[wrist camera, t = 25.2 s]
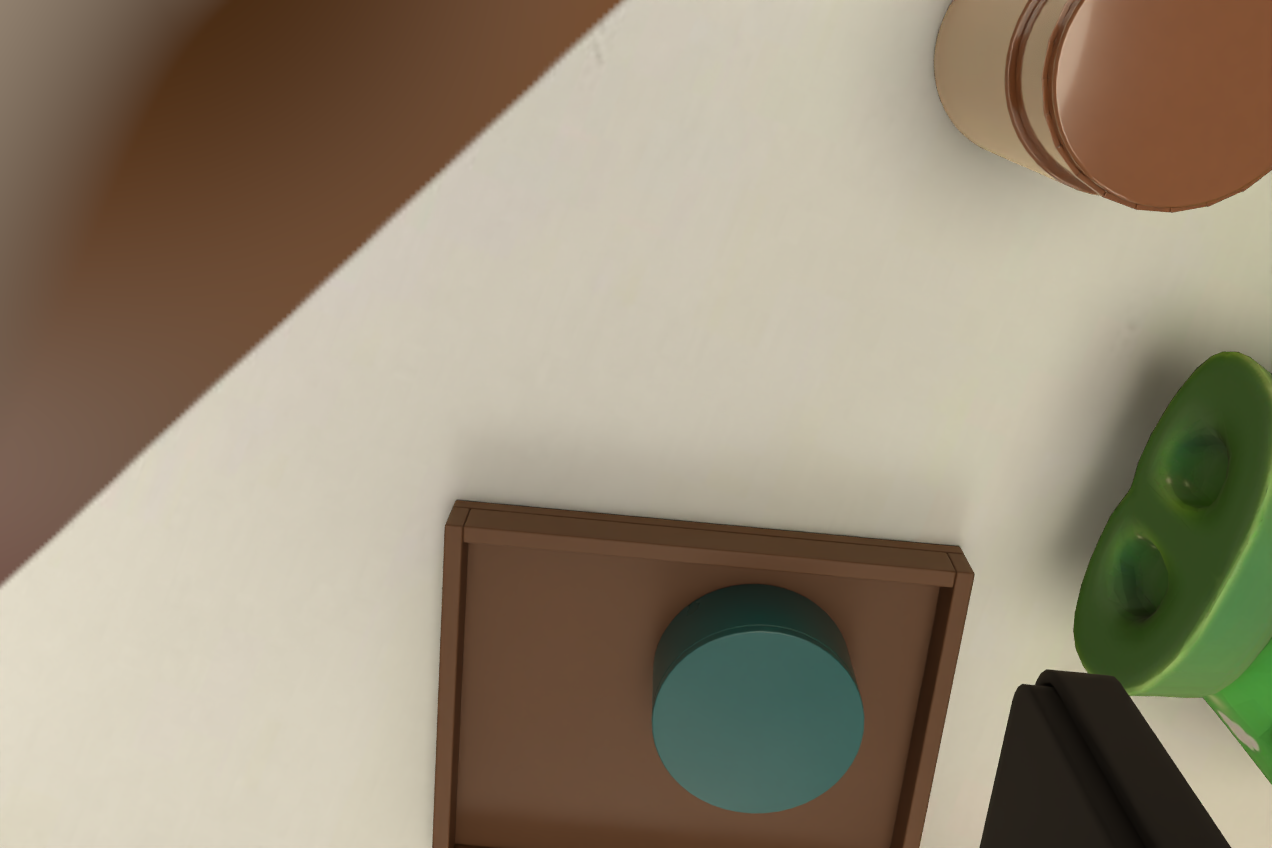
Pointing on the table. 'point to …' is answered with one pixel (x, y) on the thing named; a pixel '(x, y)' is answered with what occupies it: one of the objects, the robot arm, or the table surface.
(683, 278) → the table surface
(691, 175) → the table surface
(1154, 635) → the piggy bank
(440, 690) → the tray
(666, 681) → the jar lid
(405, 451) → the table surface
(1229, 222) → the table surface
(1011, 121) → the jar
